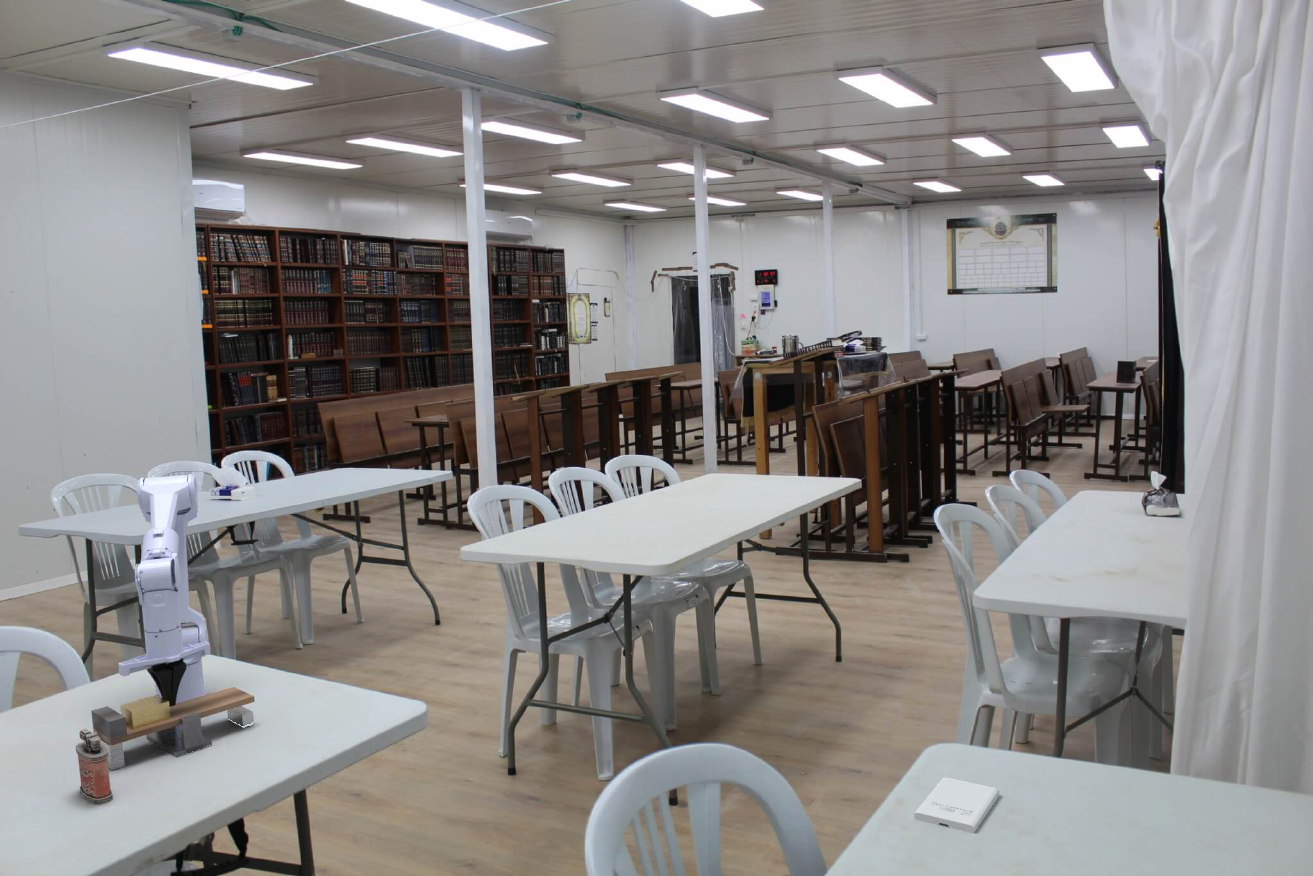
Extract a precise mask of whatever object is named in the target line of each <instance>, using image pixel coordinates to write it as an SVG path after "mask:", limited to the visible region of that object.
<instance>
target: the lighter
mask: <svg viewBox="0 0 1313 876" xmlns="http://www.w3.org/2000/svg"><path fill="white" fill-rule="evenodd" d="M79 739H80V740H81V741H83V742H80V743H77V744H76V745H75V752H76V755H77V758H78V759H77V760H78V768H79V778H80V785H79V791H80V796H81V795H82V796H81V797H82V798H83V800H85V801H86V802H88V801H89V802H88V803H91V804H92V805H96V804H100V805H104V804H107V803H109V801H110V802H112V800H113V799H114V797H113V791H112V789H111V781H110V769H109V768H108V759H107V758H108V757H109V754H108V750H107V748H106V747H105V746H104V745H102V744H101V742H100V738H99V736H98V734H97V732H94V731H91V730H89V729H88V728H83V729H80V730H79Z"/></svg>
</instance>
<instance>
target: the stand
mask: <svg viewBox="0 0 1313 876" xmlns="http://www.w3.org/2000/svg"><path fill="white" fill-rule="evenodd" d="M226 713H227V720H228V719H230V720H232V721H233V722H236V723H237V724H240V725H241V726H245V725H247V724H251V723H252V722H254V723H255V721H254V711H252V710H250V709H249V708H246V707H245V706H243V705H242V706H239V707H236V708H233V709H229V710H226ZM201 719H202V718H201V717H200V714H199V713H195V714H192V715H188V716H185V717H182V718H179V720H180V725H177V726H174V727H171V728H168V729H164V730H161V731H158V732H155V733H151V734H148V735H146V739H147V740H148V741H149V742H151V743H153V744H154V745H156V746H157V747H159V748H161V749H162V750H165V752H167V753H169V754H170V753H171V754H170V755H172V754H173V755H172V756H174V757H175V756H176V757H175V758H178V757H181V755H182V756H184V755H183V754H185V755H187V754H186V753H188V754H190V752H191V753H193V752H192V751H194V752H196V750H197V751H199V750H198V749H200V750H202V748H203V749H205V748H204V747H206V748H208V747H207V746H209V745H212V746H213V741H212V740H211V739H208V738H207V737H205V736H203V731H202V720H201ZM100 742H101V744H102V745H104V746H105V747H106V748H107V750H108V754H109V757H108V758H107V759H108V769H109V770H111V771H113V770H116V769H120V768H124V767H125V755H124V744H123V743H124V742H122V743H119V744H115V745H112V746H111V745H110V744H108V743H107V742H105V741H104V740H102V739H101V738H100ZM209 747H210V746H209ZM177 756H178V757H177Z"/></svg>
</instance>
